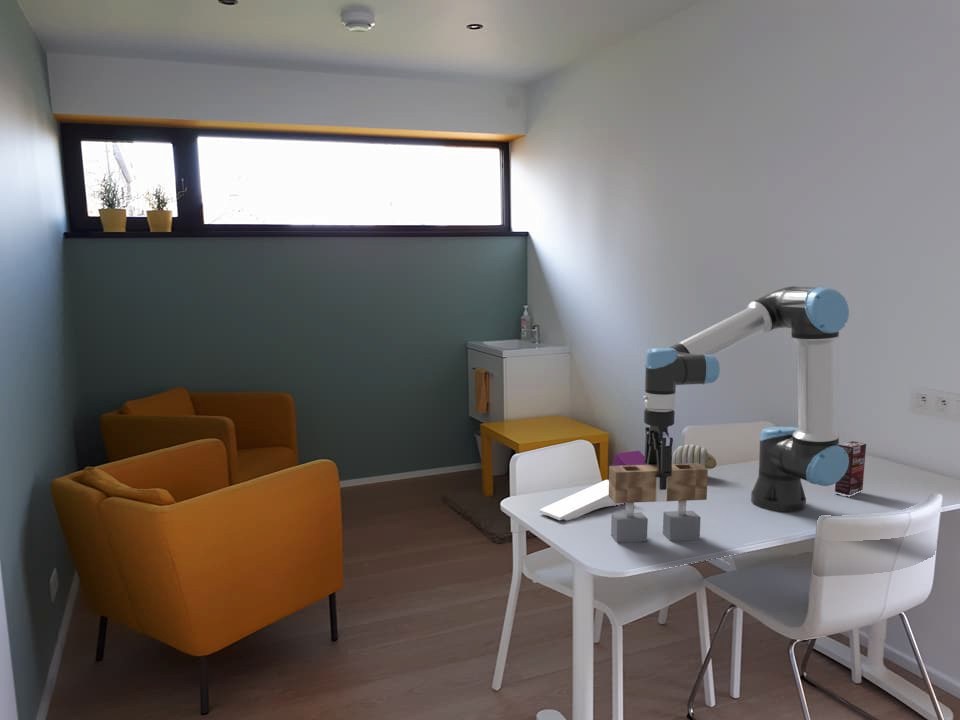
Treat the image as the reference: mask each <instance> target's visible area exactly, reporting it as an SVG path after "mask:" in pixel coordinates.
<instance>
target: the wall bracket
mask: <svg viewBox="0 0 960 720" xmlns="http://www.w3.org/2000/svg"><path fill="white" fill-rule="evenodd" d="M620 504H622V505H624V504H623V503H615V502H614V501H613V500H612V499H611V498H610V497H609V479H605V480H603V481H600V482H598V483H596V484H594V485H591V486H589V487H587V488H584V489H582V490H580V491H577V492H575V493H573V494H571V495H569V496H567V497H565V498H562V499H560V500H557V501H555V502H553V503H551V504H549V505H546V506H544V507H542V508H540V509H538V510H539V513H540V514H543V515H545V516H548V517H550V518H553V519H555V520H558V521H561V520H563V521H566V522H567V521H569V520H574V519H576V518H577V519H578V518H579V517H581V516H583V515H586V514H588V513H591V512H592V511H595V510H598V509H601V508H605V507H612V506H614V507H615V506H616V505H618V506H621V505H620ZM573 518H574V519H573Z"/></svg>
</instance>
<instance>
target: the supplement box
mask: <svg viewBox="0 0 960 720" xmlns="http://www.w3.org/2000/svg"><path fill="white" fill-rule="evenodd" d="M839 446H840V447H841V448H843V449H844V450H845V452H847V454H848V457H849V464H848V468H847V471H846V473H845V474H844V476H842V477H841V479H840V480H839V481H838V482H837V483H835V484H834V485H835V487H834V493H835V492H837V493H841V494H845V495H852V494H854V493H856V492H859V491H861V490H863V489H864V475H865V462H866V449H867V443H864V442H859V441H854V440H853V441H849V442H845V443H839Z"/></svg>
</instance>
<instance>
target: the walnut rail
mask: <svg viewBox="0 0 960 720" xmlns="http://www.w3.org/2000/svg"><path fill="white" fill-rule="evenodd" d="M708 470H709V469H707V468H705V467H703V466H702V465H700V464H699V463H688V464H673V463H672V476H669V477H668V481H667V501H666V502H678V501H686V502H688V501H708V500H707V497H708V475H709V474H708V472H709V471H708ZM655 475H658V469H657V464H656V465H625V466H612V465H609V466H608V480H609V497H610V498H611V499H612V500H613V501H614V502H615V503H625V504H626V503H634V504H635V503H636V504H637V503H654V502H655V503H657V502H656V501H655V499H656V477H655Z"/></svg>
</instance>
